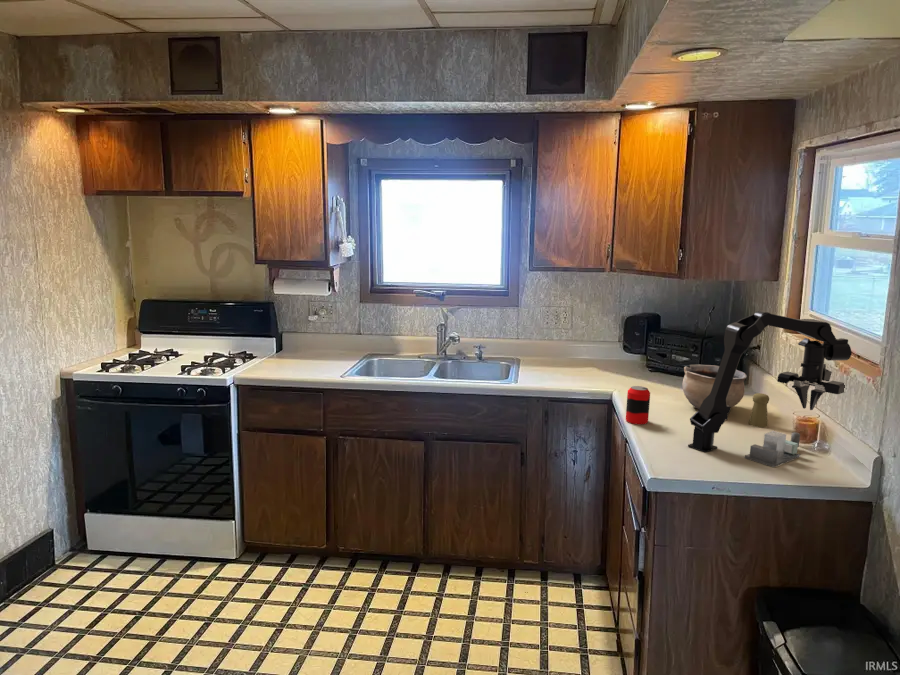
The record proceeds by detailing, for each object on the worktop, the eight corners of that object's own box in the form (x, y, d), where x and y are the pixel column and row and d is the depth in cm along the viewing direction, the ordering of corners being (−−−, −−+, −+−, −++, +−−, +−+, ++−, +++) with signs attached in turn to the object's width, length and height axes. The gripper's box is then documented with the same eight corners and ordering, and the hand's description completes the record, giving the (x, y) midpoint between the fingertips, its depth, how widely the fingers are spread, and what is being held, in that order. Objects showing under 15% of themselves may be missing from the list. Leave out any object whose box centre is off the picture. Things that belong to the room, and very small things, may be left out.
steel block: (775, 458, 202) (777, 437, 201) (762, 454, 205) (764, 433, 204) (783, 455, 205) (786, 434, 204) (771, 451, 208) (773, 430, 207)
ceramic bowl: (680, 398, 268) (683, 361, 265) (739, 404, 262) (743, 366, 259) (680, 414, 247) (684, 374, 244) (745, 421, 241) (750, 379, 238)
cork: (751, 420, 241) (754, 390, 239) (769, 424, 237) (773, 393, 235) (746, 424, 237) (749, 394, 234) (764, 428, 233) (768, 397, 231)
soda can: (647, 425, 233) (650, 391, 231) (624, 423, 235) (627, 389, 233) (648, 419, 240) (650, 386, 238) (626, 417, 242) (628, 384, 240)
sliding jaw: (792, 454, 205) (794, 441, 204) (769, 447, 210) (771, 435, 209) (807, 448, 210) (809, 435, 209) (785, 442, 216) (786, 429, 215)
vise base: (774, 467, 197) (775, 454, 196) (744, 458, 204) (746, 445, 203) (799, 457, 206) (801, 444, 205) (770, 448, 213) (772, 436, 212)
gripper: (857, 363, 208) (851, 412, 211) (796, 352, 223) (791, 398, 226) (840, 367, 202) (834, 418, 205) (779, 356, 216) (773, 403, 219)
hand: (807, 409), depth 214 cm, fingers closed
